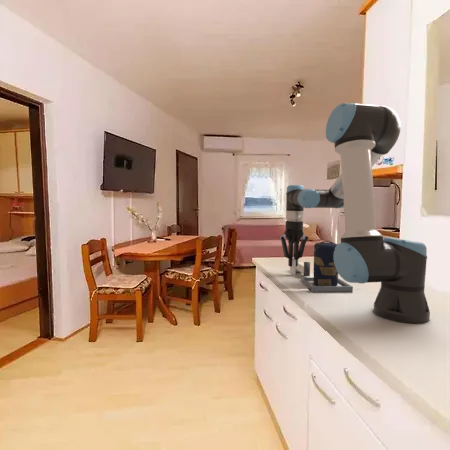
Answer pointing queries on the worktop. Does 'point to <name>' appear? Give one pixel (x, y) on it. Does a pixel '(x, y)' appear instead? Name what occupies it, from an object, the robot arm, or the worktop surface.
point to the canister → (325, 264)
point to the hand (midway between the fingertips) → (292, 273)
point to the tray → (328, 287)
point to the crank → (303, 268)
